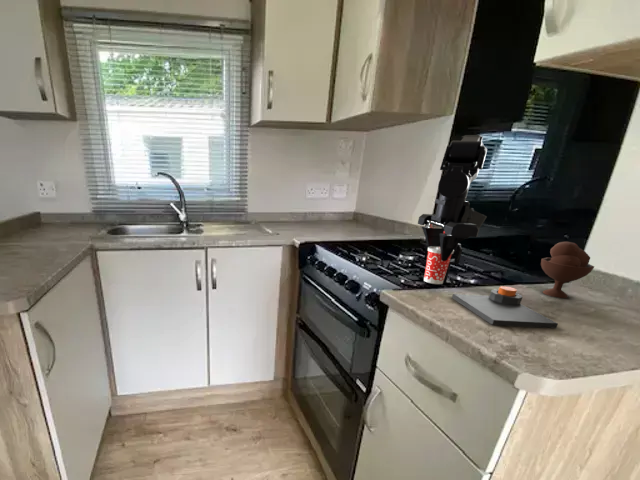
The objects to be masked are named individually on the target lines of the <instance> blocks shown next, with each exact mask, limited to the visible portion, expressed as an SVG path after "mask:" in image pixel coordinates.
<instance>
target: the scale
mask: <svg viewBox="0 0 640 480" xmlns="http://www.w3.org/2000/svg"><path fill="white" fill-rule="evenodd" d="M498 291H499V288H498V289H497V288H494V289H491V290H490V292H489V295H485V294H467V293H466V294H465V293H464V294H463V293H452V296H451V299H453V300H454V301H456V302H457V303H459V304H460V305H462V306H463V307H465V308H466V309H467V310H469V311H471V312H472V313H473V314H475V315H477V316H478V317H479V318H481V319H482V320H483V321H486V322H487V323H488V324H490V325H492V326H505V327H521V328H522V327H524V328H540V329H541V328H542V329H543V328H544V329H557V328H558V324H559V322H557V321H554V320H552V319H550V318H548V317H546V316H545V315H542V314H541V313H539V312H537V311H535V310H533V309H531V308H529V307H528V306H525V305H524V304H522V300H523V294H520V293H518V292H516V294H515V296H506V295H502V294H499V293H498Z"/></svg>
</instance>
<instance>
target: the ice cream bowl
mask: <svg viewBox="0 0 640 480" xmlns="http://www.w3.org/2000/svg"><path fill="white" fill-rule="evenodd" d="M549 253H550V256H551V257H543V258H541V260H540V266H541V269H542V271H543V272H544V273H545V275H547V276H548V278H550V279H552V280H554V285H553V287H552V288H548V289H544V290H543V291H542V293H543V294H544V295H546V296H549V297H553V298H559V299H567V298H568V297H569V296H568V294H567V293H566V292H564V291H563V290H562V288H563V286H564V284H565V283H568V282H570V283H571V282H574V281H575V282H576V281H577V280H580V279H582V278H584V277H587V276H588V275H589V274H590V273H592V271H593V270H594V268H595V266H594V265H592V264H590V260H591V256H590V255H589V254H588V253H587V252H586V251H585V250H584V249H582V248H580V247H579V246H578V244H577V243H575V242H572V241H560V242H558V243H555V244H554V246H552V247H551V248H550V251H549Z"/></svg>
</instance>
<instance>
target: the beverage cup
mask: <svg viewBox="0 0 640 480" xmlns="http://www.w3.org/2000/svg"><path fill="white" fill-rule="evenodd" d="M444 234H445V231H444ZM453 252H454V250H453V251H452V253H451V254H450V256H449V257H448V259H447V260H446V261H442V260H441V250H440V247H437V246H430V247H428V256H427V260H426V263H425V269H424V275H425V276H424V279H423V282H426V283H428V284H432V285H444V284H443V281H444V278H445V274H446V271H447V268H448V265H449V262H450V259H451V256H452V254H453Z"/></svg>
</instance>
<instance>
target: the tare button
mask: <svg viewBox="0 0 640 480" xmlns="http://www.w3.org/2000/svg"><path fill="white" fill-rule="evenodd" d="M498 289H499V291H498V293H499V294H502V295H506V296H515V294H516V293H518V292H517V291H518V290H517V288H514V287H510V286H507V285H506V286H505V285H501V286H499V287H498Z"/></svg>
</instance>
